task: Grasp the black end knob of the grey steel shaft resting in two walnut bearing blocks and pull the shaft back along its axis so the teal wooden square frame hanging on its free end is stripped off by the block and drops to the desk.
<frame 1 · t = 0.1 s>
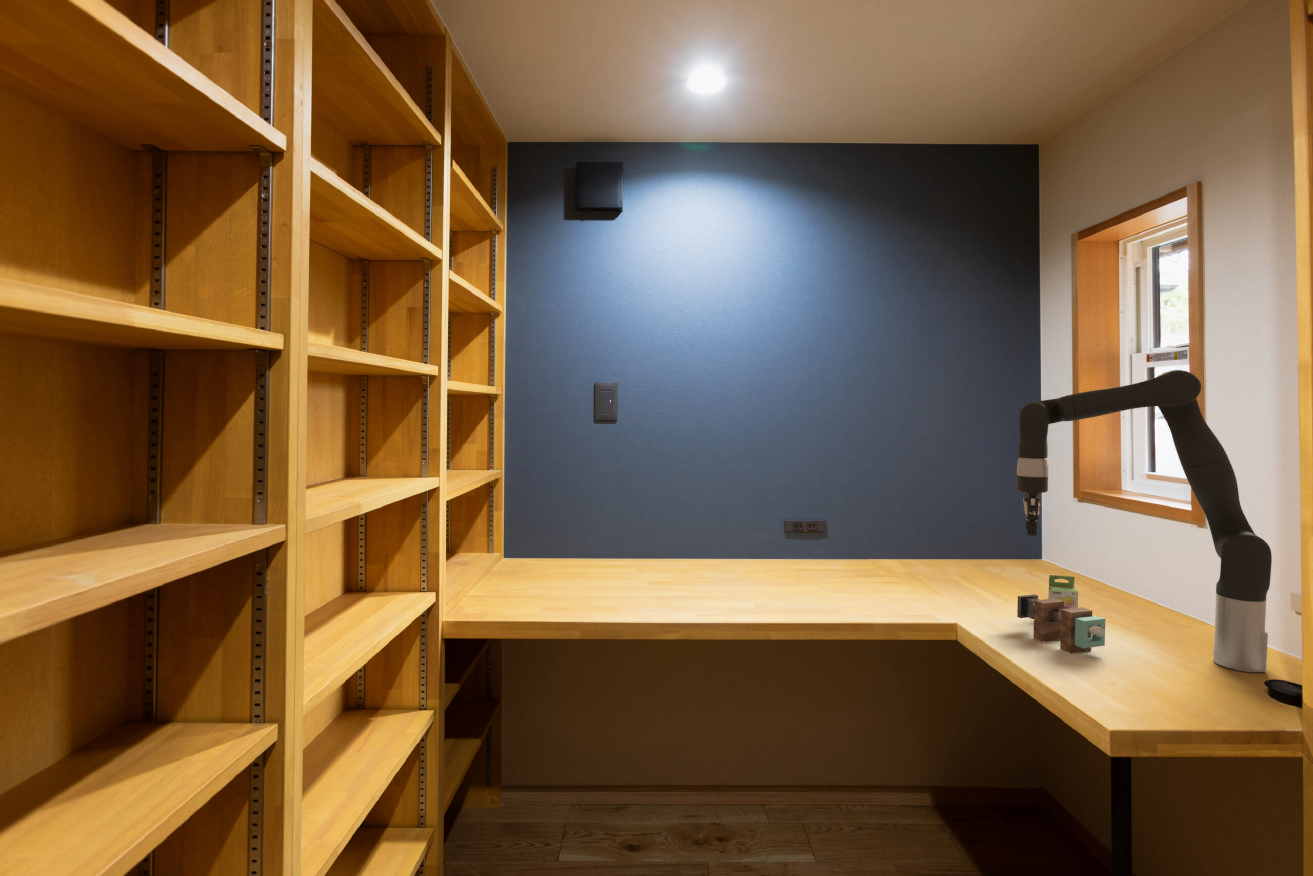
hand: (1030, 532, 182), 29 cm above the table, fingers open, 8 cm apart
shaft: (1061, 618, 177), point 7 cm above the table, slide at 0.0 cm, touching square frame
ink box: (1062, 622, 195), on the table
bearing blocks: (1062, 644, 176), on the table
square frame: (1089, 645, 169), point 3 cm above the table, touching shaft
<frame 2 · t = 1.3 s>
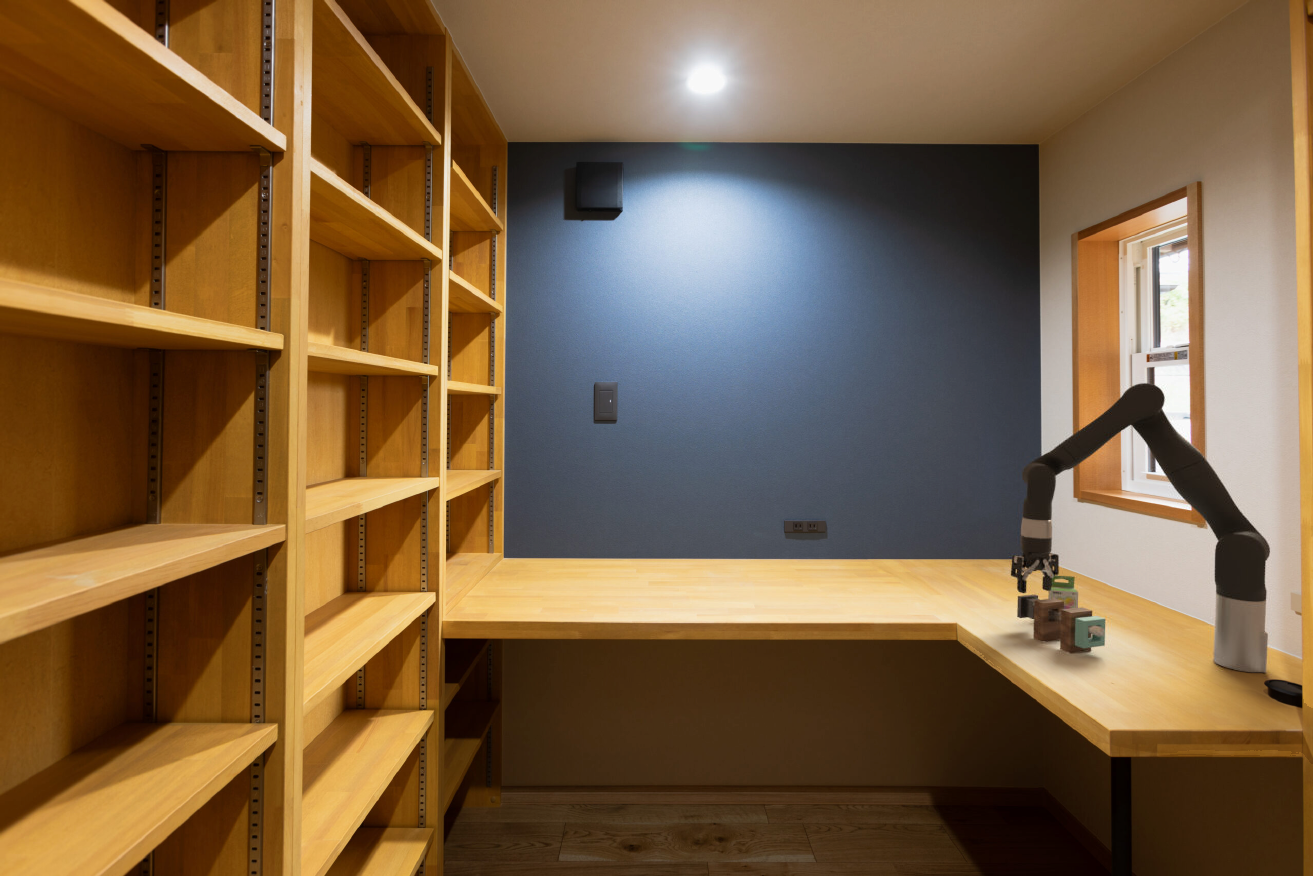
hand: (1034, 591, 185), 12 cm above the table, fingers open, 8 cm apart
nothing on the table moved.
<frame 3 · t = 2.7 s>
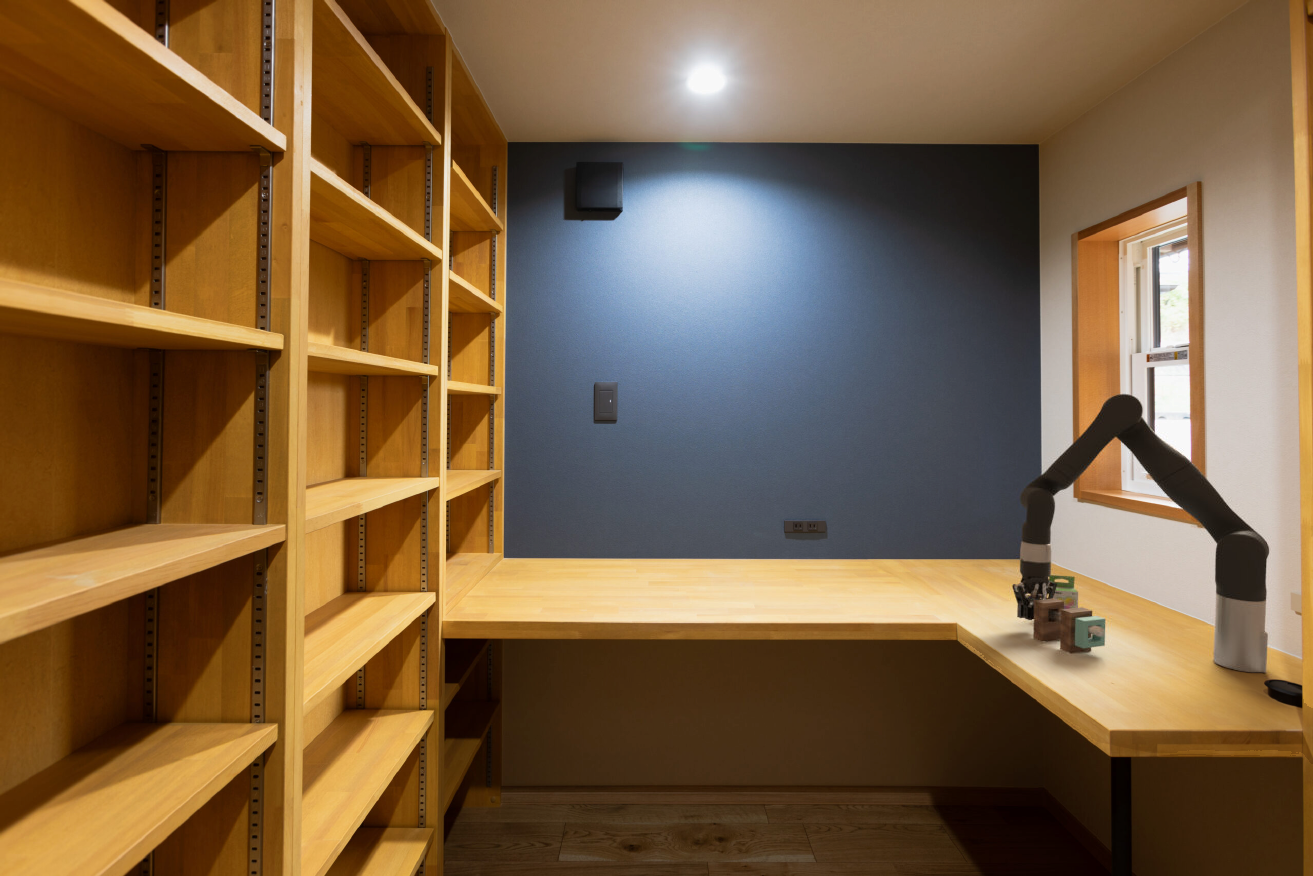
hand: (1033, 618, 185), 4 cm above the table, fingers closed on shaft, 3 cm apart
shaft: (1061, 618, 177), point 7 cm above the table, slide at 0.0 cm, touching gripper, square frame
everything else where it was.
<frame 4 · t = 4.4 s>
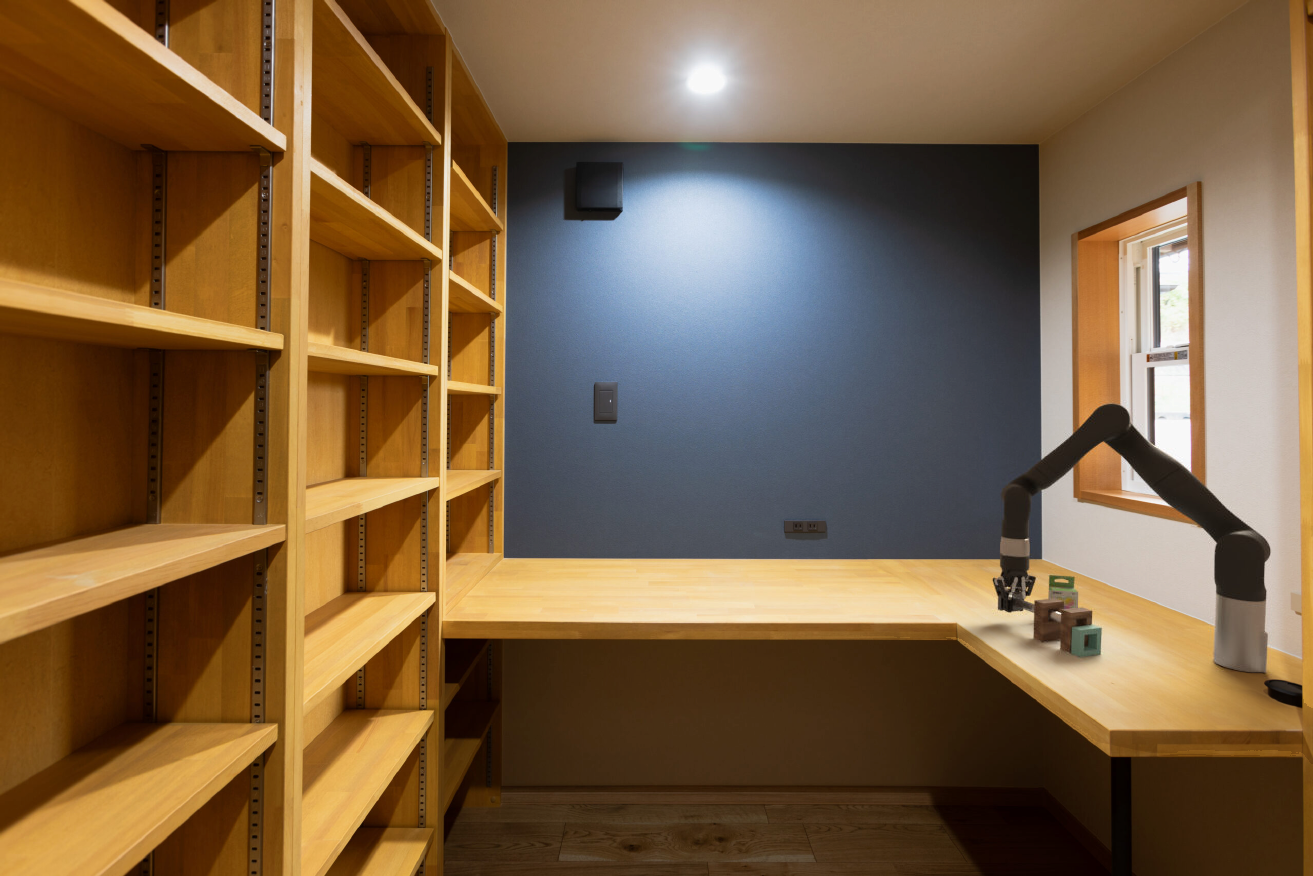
hand: (1013, 610, 192), 4 cm above the table, fingers closed on shaft, 3 cm apart
shaft: (1038, 610, 184), point 7 cm above the table, slide at 7.2 cm, touching gripper
square frame: (1085, 654, 170), on the table
everything else where it was.
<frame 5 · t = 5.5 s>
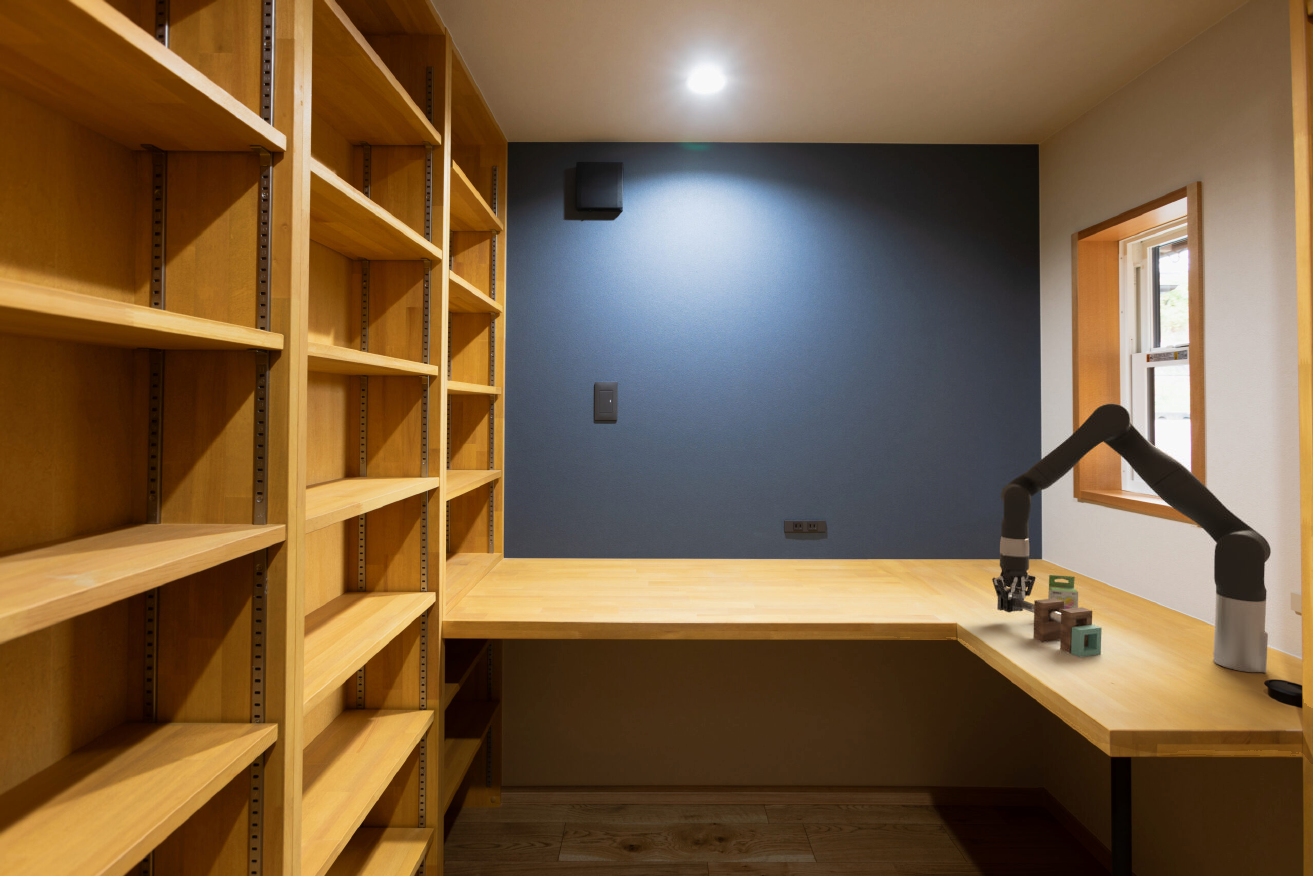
hand: (1013, 610, 192), 4 cm above the table, fingers closed on shaft, 3 cm apart
shaft: (1038, 610, 184), point 7 cm above the table, slide at 7.3 cm, touching gripper
everything else where it was.
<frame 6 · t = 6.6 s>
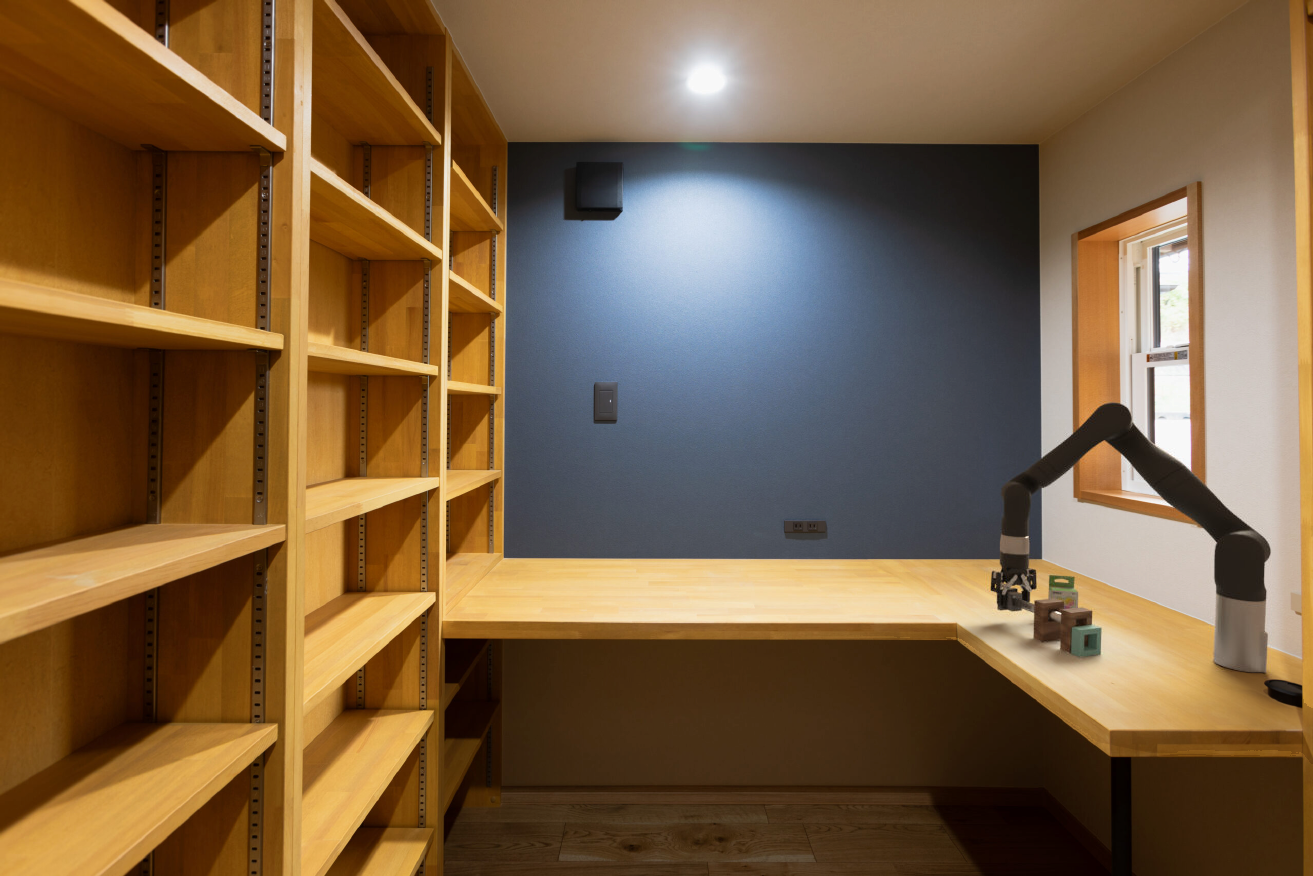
hand: (1013, 605, 192), 6 cm above the table, fingers open, 8 cm apart
shaft: (1038, 610, 184), point 7 cm above the table, slide at 7.3 cm
everything else where it was.
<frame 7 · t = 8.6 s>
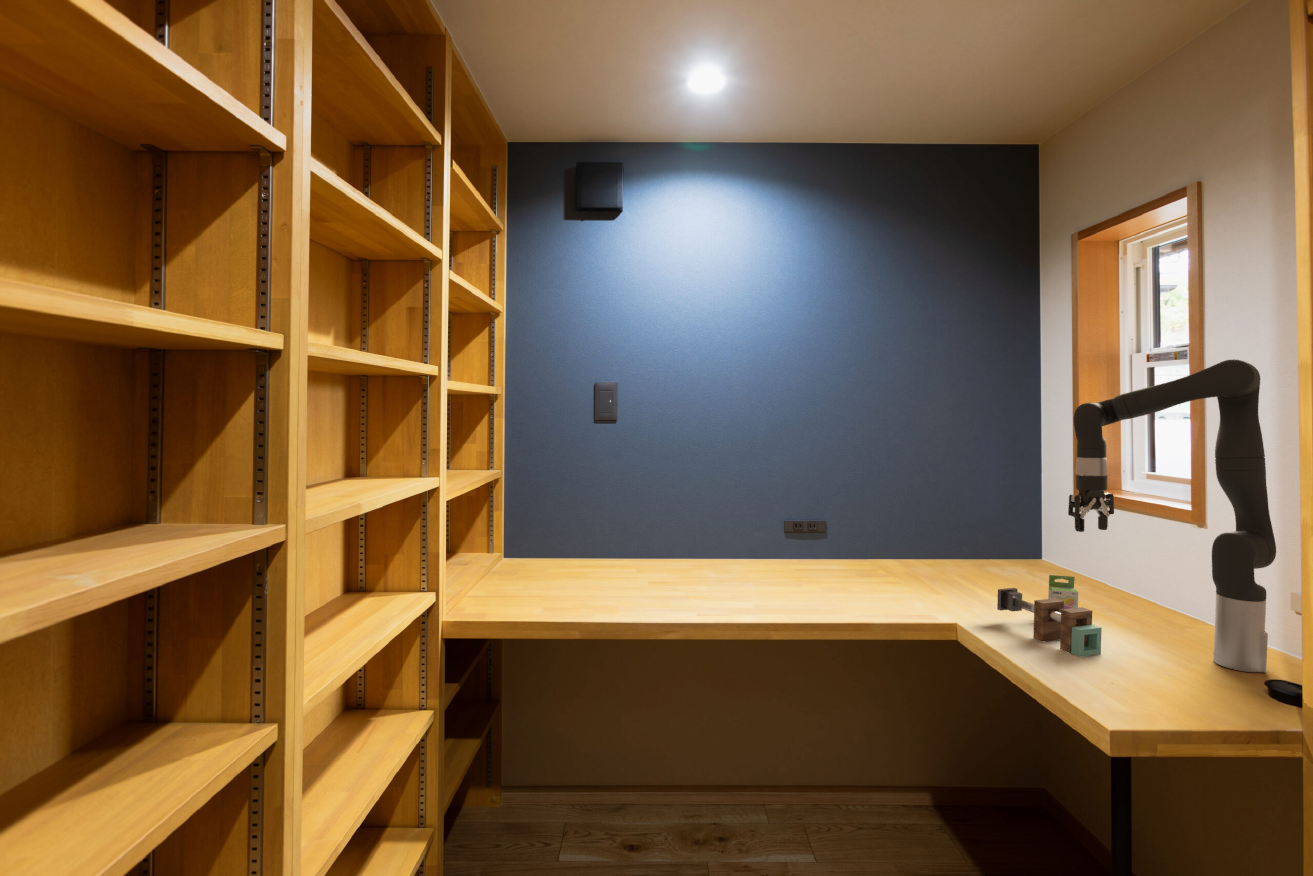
hand: (1091, 530, 186), 29 cm above the table, fingers open, 8 cm apart
nothing on the table moved.
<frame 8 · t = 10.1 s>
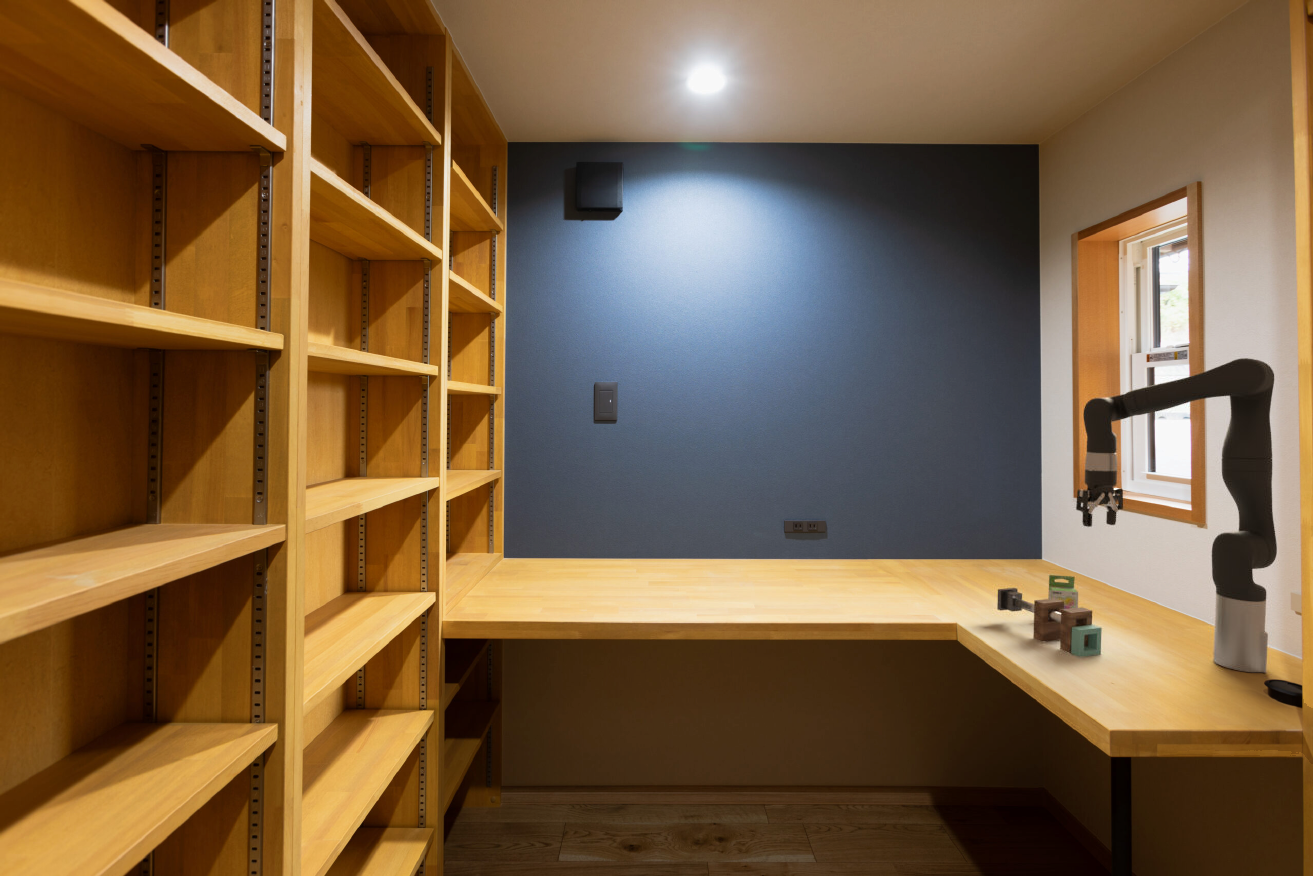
hand: (1099, 525, 186), 30 cm above the table, fingers open, 8 cm apart
nothing on the table moved.
at the end: square frame on the table; square frame touching table; shaft slide at 7.3 cm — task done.
